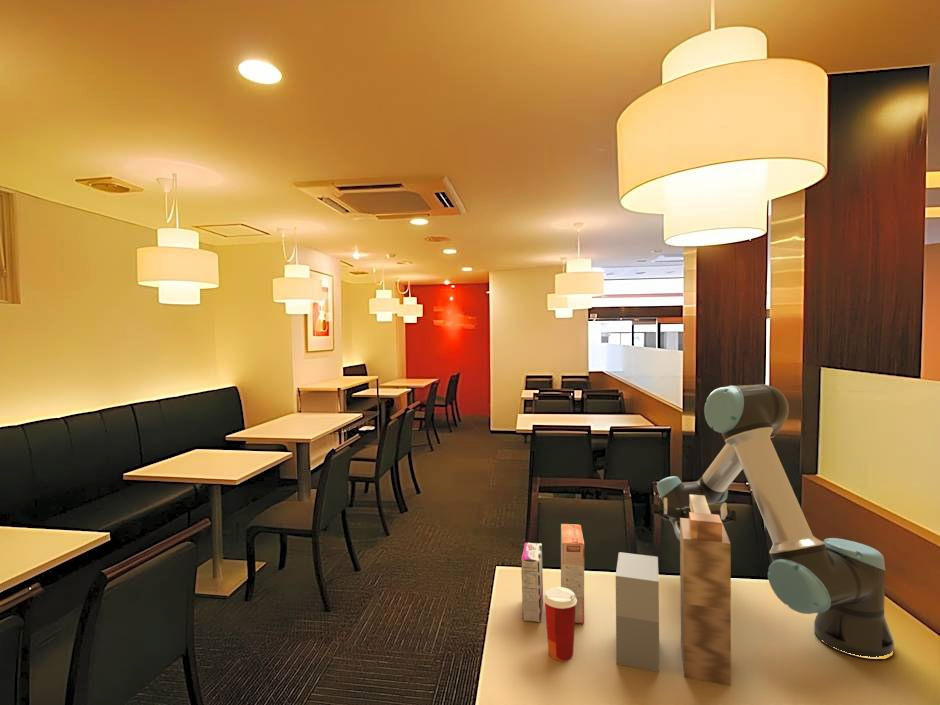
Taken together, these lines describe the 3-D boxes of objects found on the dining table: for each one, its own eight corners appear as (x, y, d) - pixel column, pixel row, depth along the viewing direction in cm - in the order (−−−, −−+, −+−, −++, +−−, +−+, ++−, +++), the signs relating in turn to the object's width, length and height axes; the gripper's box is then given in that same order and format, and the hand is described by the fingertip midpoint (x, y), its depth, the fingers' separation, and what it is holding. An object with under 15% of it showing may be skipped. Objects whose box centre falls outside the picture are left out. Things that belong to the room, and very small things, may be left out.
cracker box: (585, 624, 129) (585, 543, 128) (561, 623, 130) (560, 542, 129) (582, 596, 143) (581, 523, 142) (560, 595, 144) (559, 522, 143)
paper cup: (582, 649, 119) (581, 590, 118) (571, 668, 112) (570, 605, 112) (550, 639, 123) (549, 582, 122) (538, 657, 116) (537, 597, 116)
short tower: (658, 638, 123) (657, 556, 122) (659, 672, 110) (658, 581, 110) (619, 631, 126) (618, 552, 125) (616, 663, 113) (615, 575, 113)
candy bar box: (525, 599, 142) (524, 541, 142) (543, 601, 141) (542, 542, 140) (521, 621, 131) (520, 558, 131) (541, 623, 130) (540, 560, 130)
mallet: (710, 507, 127) (710, 492, 126) (722, 541, 106) (722, 522, 106) (684, 505, 129) (684, 490, 128) (690, 538, 108) (690, 519, 108)
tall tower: (722, 649, 118) (722, 521, 117) (730, 685, 106) (730, 543, 105) (680, 642, 121) (679, 517, 120) (684, 676, 109) (683, 538, 108)
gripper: (740, 541, 138) (752, 526, 120) (643, 531, 146) (642, 516, 129) (738, 513, 141) (749, 494, 124) (643, 505, 150) (642, 486, 132)
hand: (694, 505), depth 126 cm, fingers open, 13 cm apart
